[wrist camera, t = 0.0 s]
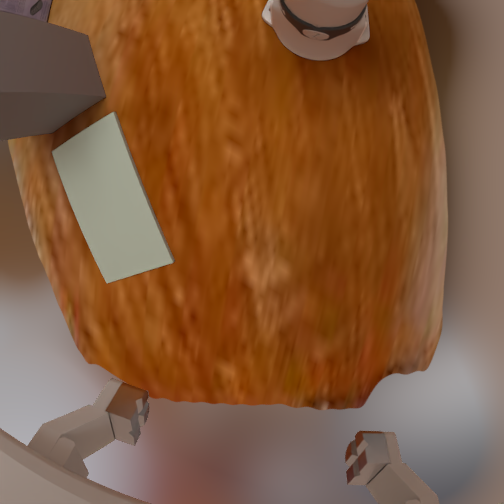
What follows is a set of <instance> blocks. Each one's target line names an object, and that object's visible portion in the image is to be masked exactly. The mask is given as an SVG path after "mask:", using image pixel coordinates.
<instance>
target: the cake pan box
mask: <svg viewBox="0 0 504 504" xmlns="http://www.w3.org/2000/svg"><path fill="white" fill-rule="evenodd" d="M51 2H52V0H0V11H2V12H7V13H12V14H16V15H20V16H24V17H28V18H32V19H36V20H40V21H43V22H47V20H48V14H49V10H50V6H51Z"/></svg>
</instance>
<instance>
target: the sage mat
mask: <svg viewBox="0 0 504 504" xmlns="http://www.w3.org/2000/svg"><path fill="white" fill-rule="evenodd" d="M52 154H53V157H54V160H55V163H56V166H57V169H58V172H59V175H60V177H61V180H62V183H63V186H64V188H65V191H66V193H67V196H68V199H69V201H70V204H71V206H72V209H73V211H74V214H75V216H76V218H77V221H78V223H79V225H80V228H81V230H82V232H83V235H84V237H85V239H86V241H87V244H88V246H89V248H90V250H91V252H92V254H93V256H94V259H95V261H96V263H97V265H98V267H99V269H100V271H101V273H102V275H103V277H104V279H105V281H106V283H110V282H113V281H116V280H119V279H123V278H126V277H129V276H132V275H135V274H138V273H142V272H145V271H148V270H151V269H154V268H158V267H161V266H164V265H167V264H171V263H173V262H174V261H175V260H174V258H173V255H172V253H171V251H170V249H169V246H168V244H167V242H166V239H165V237H164V235H163V232H162V230H161V228H160V225H159V223H158V221H157V218H156V216H155V214H154V211H153V209H152V206H151V204H150V201H149V199H148V196H147V194H146V192H145V189H144V187H143V184H142V181H141V179H140V176H139V174H138V171H137V169H136V166H135V163H134V161H133V158H132V155H131V153H130V150H129V147H128V145H127V142H126V139H125V136H124V134H123V131H122V128H121V125H120V122H119V120H118V117H117V114H116V112H112V113H111V114H109V115H107V116H105V117H104V118H102V119H100V120H99V121H97V122H96V123H94V124H92V125H91V126H89V127H88V128H86V129H84V130H83V131H81V132H80V133H78V134H77V135H75V136H74V137H72V138H71V139H69V140H68V141H66V142H65V143H63V144H62V145H61V146H59V147H58V148H56V149H55V150H53V151H52Z"/></svg>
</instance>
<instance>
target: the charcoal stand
mask: <svg viewBox="0 0 504 504" xmlns="http://www.w3.org/2000/svg"><path fill="white" fill-rule="evenodd" d="M105 97H106V95H105V92H104V89H103V85H102V82H101V79H100V76H99V73H98V69H97V66H96V63H95V59H94V56H93V53H92V49H91V45H90V42H89V38H88V35H85V34H82V33H80V32H76V31H73V30H70V29H67V28H64V27H61V26H57V25H54V24H51V23H47V22H43V21H40V20H36V19H32V18H28V17H24V16H20V15H16V14H12V13H7V12H2V11H0V141H3V140H8V139H14V138H21V137H27V136H34V135H42V134H50V133H53V132H54V131H56V130H57V129H59V128H60V127H61V126H63V125H64V124H66V123H67V122H68V121H70V120H71V119H73V118H74V117H76V116H77V115H79V114H80V113H82V112H83V111H85V110H86V109H88V108H89V107H91V106H92V105H94V104H95V103H97V102H99V101H100V100H102V99H103V98H105Z"/></svg>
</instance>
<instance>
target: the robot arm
mask: <svg viewBox="0 0 504 504" xmlns="http://www.w3.org/2000/svg"><path fill="white" fill-rule="evenodd" d="M368 1H369V0H268V2H267V4H266V6H265V8H264V10H263V12H262V19H263V20H264V21H265V22H266V23H267V24H268V25H270V26H271V27H272V28H273V29H274V30H275V32H276V34H277V36H278V38H279V39H280V41H281V42H282V43H283V45H284V46H285V47H286V48H288V49H289V50H290V51H292V52H293V53H295V54H297V55H299V56H301V57H304V58H307V59H311V60H329V59H334V58H337V57H339V56H341V55H343V54H344V53H346V52H347V51H348V50H349V49H350V48H352V47H353V46H355V45H359V44H362V43H365V42H367V41H368V40H369V38H370V31H369V19H368V9H367V2H368ZM269 10H270V11H269ZM148 397H149V394H148V391H146V390H143V389H140V388H138V387H135V386H132V385H129V384H127V383H124V382H121V381H119V380H116V379H113V378H112V379H110V380H109V381H108V382H107V384H106V386H105V387H104V389H103V390H102V392H101V393H100V395H99V396H98V398H97V400H96V401H95V403H94V404H93V406H91V405H87V406H85V407H83V408H81V409H78V410H76V411H73V412H71V413H69V414H66V415H64V416H62V417H59V418H57V419H54V420H52V421H49V422H47V423H44V424H43V425H42V426H41V427H40V429H39V430H38V431H37V433H36V434H35V436H34V437H33V439H32V440H31V441H30V443H29V445H28V446H26V445H25V444H23V443H21V442H20V441H18V440H17V439H15V438H14V437H12V436H11V435H9V434H8V433H6V432H5V431H3V430H2V429H1V428H0V504H151V503H148V502H144V501H142V500H138V499H136V498H133V497H130V496H128V495H125V494H122V493H120V492H117V491H115V490H112V489H110V488H107V487H105V486H103V485H100V484H98V483H96V482H94V481H91V480H89V479H87V476H88V470H87V468H86V466H85V464H84V462H83V459H85V458H86V457H88V456H89V455H91V454H93V453H95V452H96V451H98V450H100V449H101V448H103V447H104V446H106V445H107V444H109V443H111V442H112V441H114V440H115V439H117V440H120V441H122V442H125V443H128V444H131V445H134V446H135V444H136V442H137V440H138V438H139V436H140V427H141V426H143V425H145V422H146V420H147V418H148V414H149V403H148V402H147V399H148ZM345 462H346V464H347V465H348V466H349V469H348V470H347V471H346V474H347V485H366V487H367V488H368V490H369V491H370V492H371V494H372V495H373V497H374V498H375V500H376V501H377V503H378V504H439V501H438V497H437V495H436V494H435V493H434V492H433V491H432V490H431V489H430V488H429V487H428V486H427V485H426V484H425V483H424V482H423V481H422V480H421V479H420V478H419V477H418V476H417V475H416V474H415V473H414V472H413V471H412V470H411V469H410V468H409V467H408V466H407V465H406V464H405V463H402V460H401V455H400V451H399V447H398V443H397V439H396V435H395V433H394V432H379V431H359V432H357V434H356V435H355V440H354V441H352V442H350V444H349V445H348V447H347V450H346V455H345ZM499 504H504V503H499Z"/></svg>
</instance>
